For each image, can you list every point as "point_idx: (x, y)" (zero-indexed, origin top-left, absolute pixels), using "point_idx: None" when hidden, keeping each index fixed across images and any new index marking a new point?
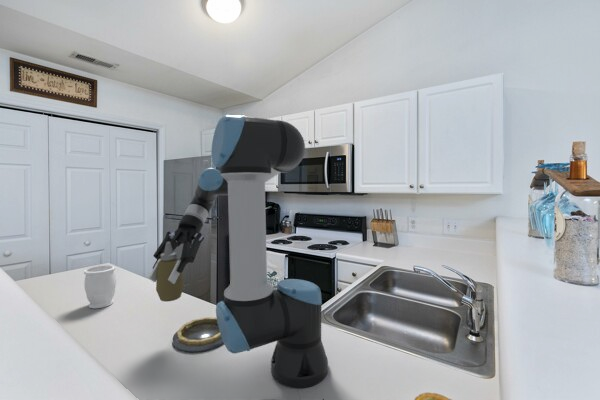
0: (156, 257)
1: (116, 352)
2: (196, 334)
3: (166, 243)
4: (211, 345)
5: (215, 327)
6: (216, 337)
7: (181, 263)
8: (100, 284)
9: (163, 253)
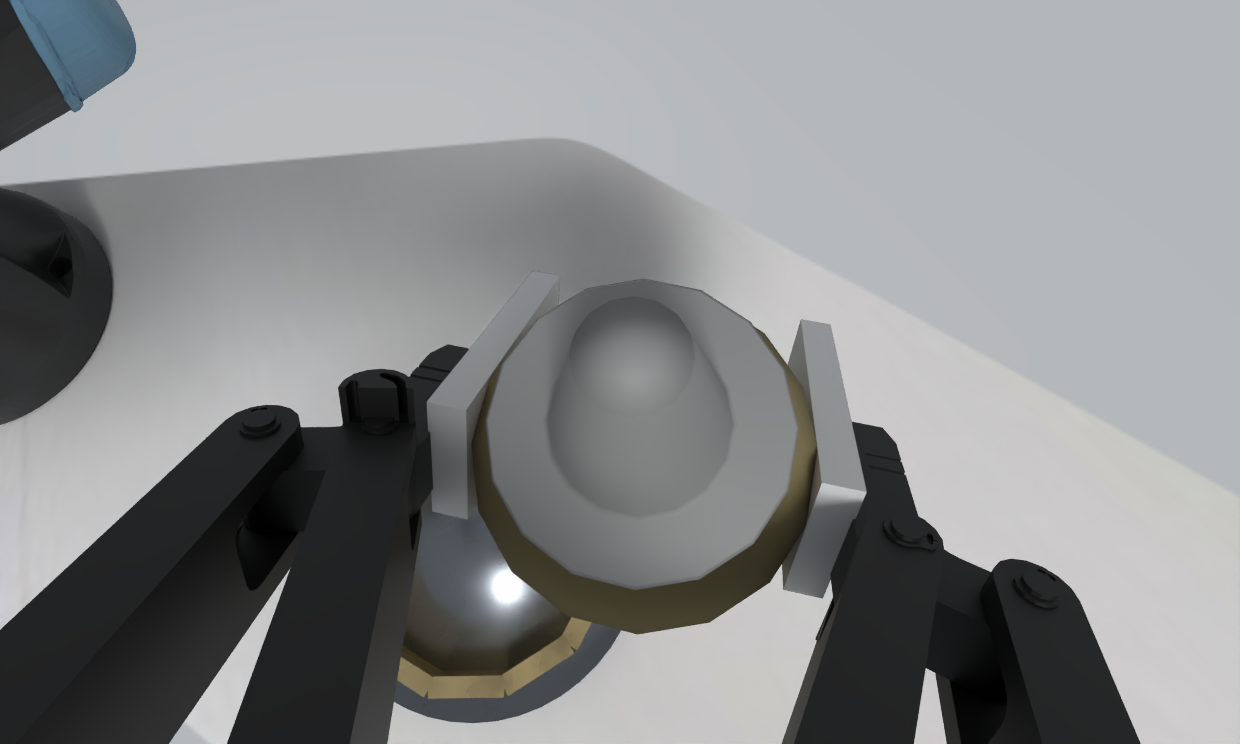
0: (975, 576)
1: (865, 360)
2: None
3: (655, 301)
4: None
5: (423, 612)
6: None
7: (414, 403)
8: None
9: (755, 419)
